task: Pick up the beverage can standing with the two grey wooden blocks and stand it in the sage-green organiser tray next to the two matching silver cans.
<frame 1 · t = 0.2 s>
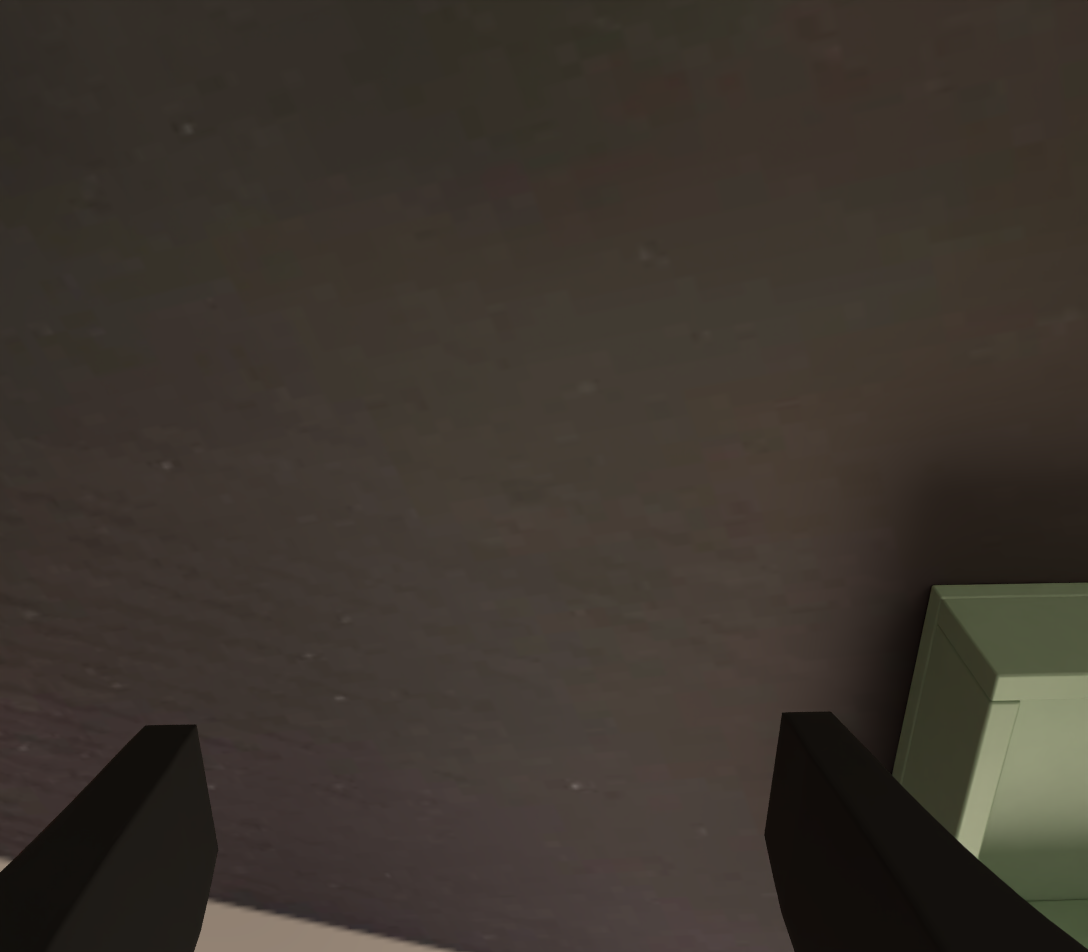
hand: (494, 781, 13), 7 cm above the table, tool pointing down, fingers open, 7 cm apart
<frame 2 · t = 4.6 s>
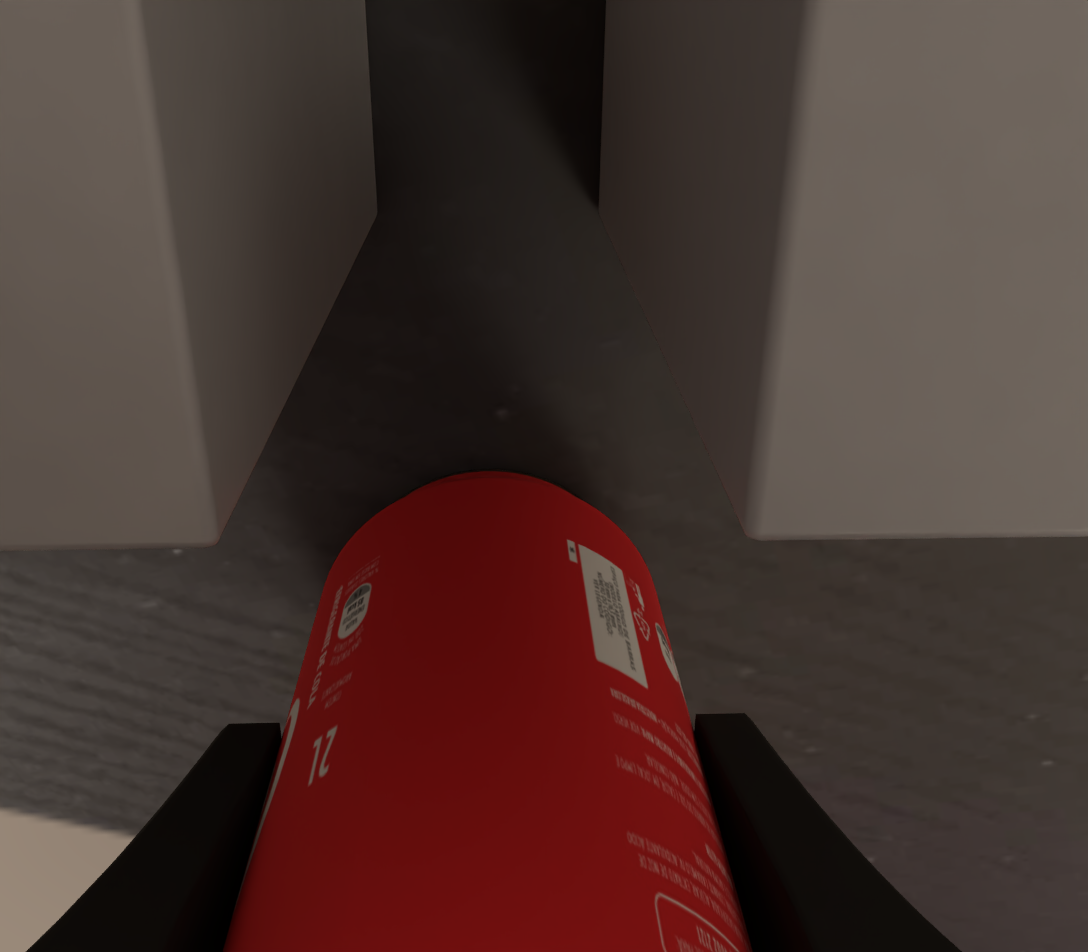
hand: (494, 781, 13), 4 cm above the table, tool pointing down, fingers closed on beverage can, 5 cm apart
grey block B: (250, 58, 13), on the table
beverage can: (490, 583, 17), on the table, touching gripper
grey block A: (718, 63, 13), on the table
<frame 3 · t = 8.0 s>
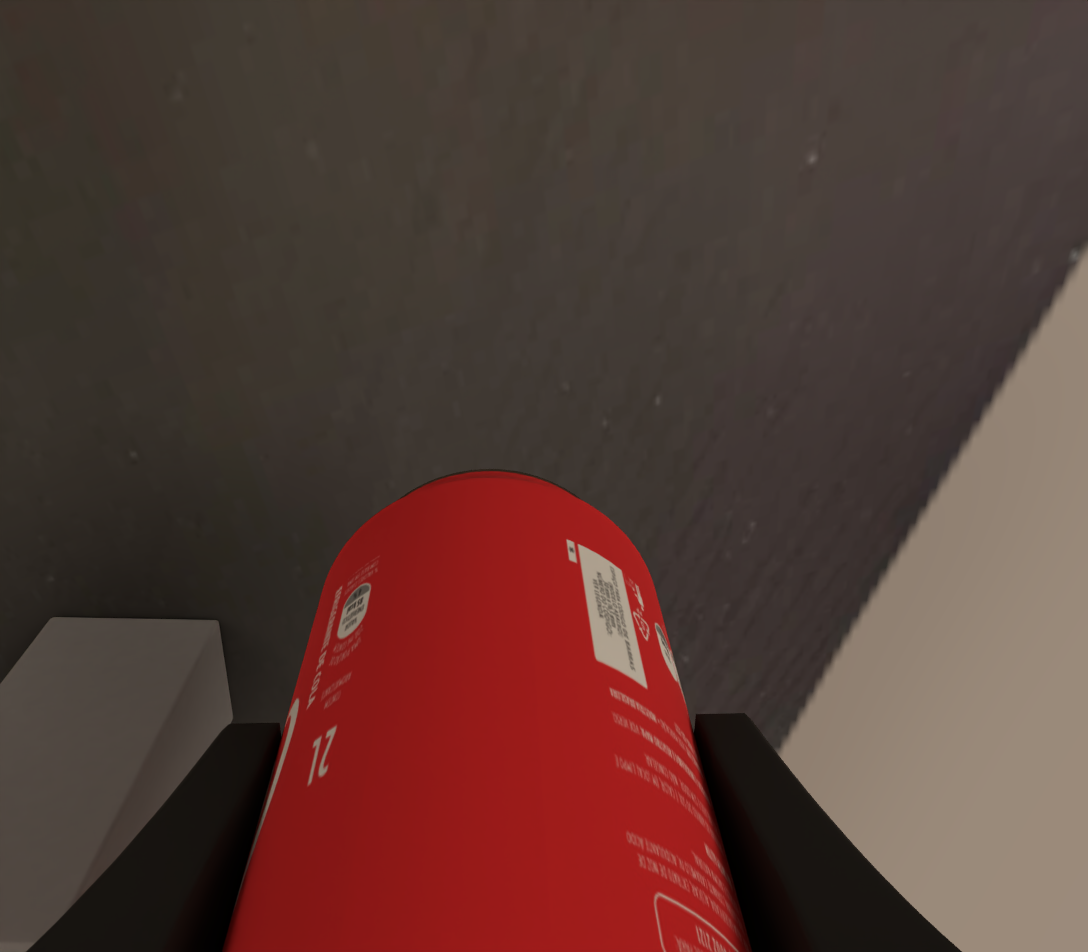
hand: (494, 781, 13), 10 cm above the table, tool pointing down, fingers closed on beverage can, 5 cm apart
beverage can: (490, 583, 17), point 6 cm above the table, touching gripper
grey block A: (145, 668, 25), on the table
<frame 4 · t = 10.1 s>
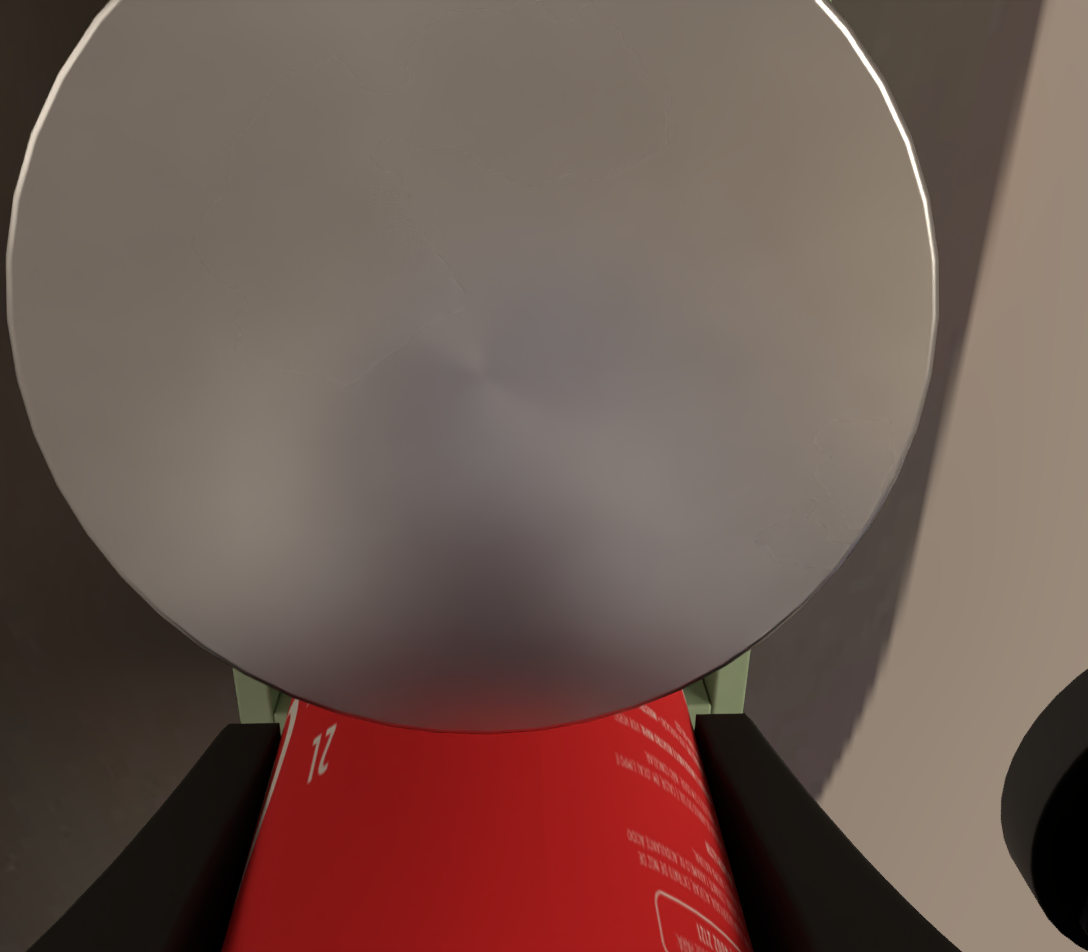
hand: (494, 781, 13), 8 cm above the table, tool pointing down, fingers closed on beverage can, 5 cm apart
tray: (488, 110, 17), on the table
beverage can: (490, 581, 17), point 3 cm above the table, touching gripper
silver can A: (488, 113, 16), resting on tray
when the fingers open (5 cm above the table, at t = 11.6 s): beverage can stays where it is, resting on tray.
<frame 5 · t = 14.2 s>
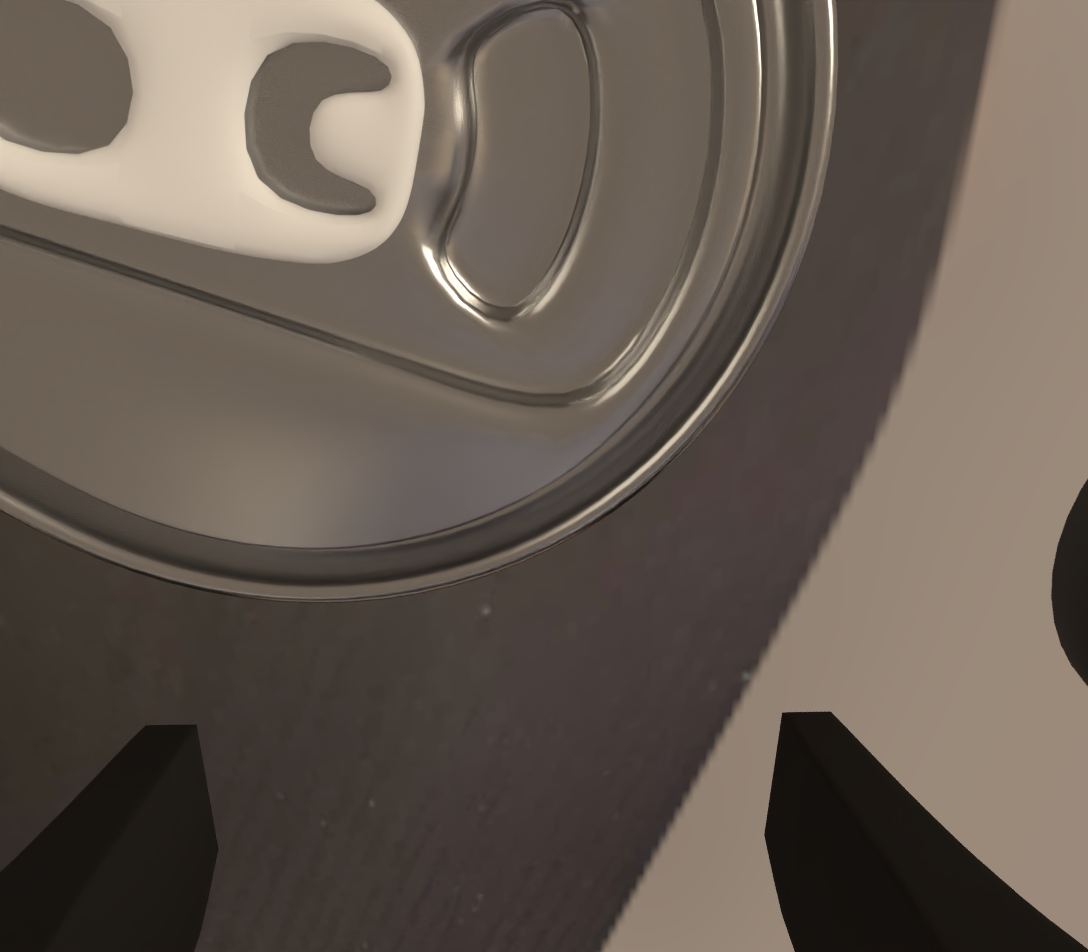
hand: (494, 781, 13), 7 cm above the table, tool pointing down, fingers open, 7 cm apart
beverage can: (432, 23, 15), resting on tray
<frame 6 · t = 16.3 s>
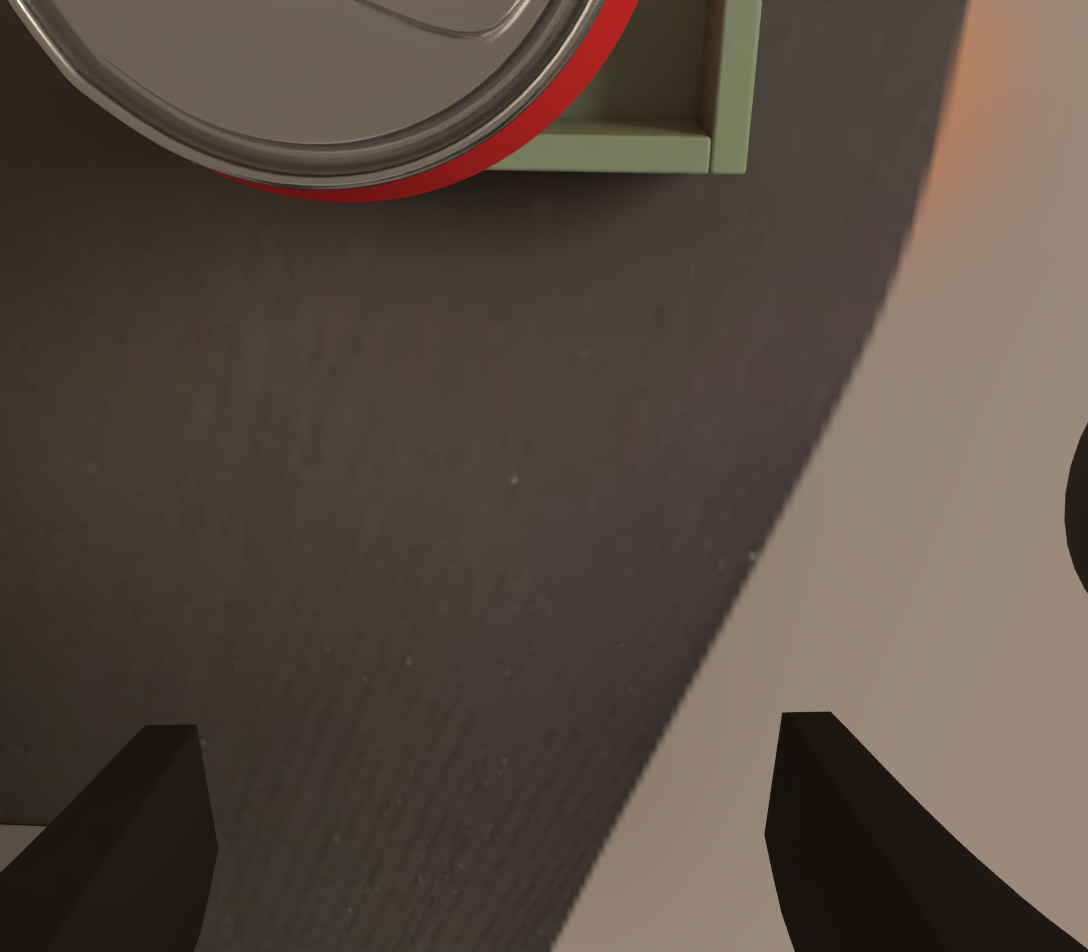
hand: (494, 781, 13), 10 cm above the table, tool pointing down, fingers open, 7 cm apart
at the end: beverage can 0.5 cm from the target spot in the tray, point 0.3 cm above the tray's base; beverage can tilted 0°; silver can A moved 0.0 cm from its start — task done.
